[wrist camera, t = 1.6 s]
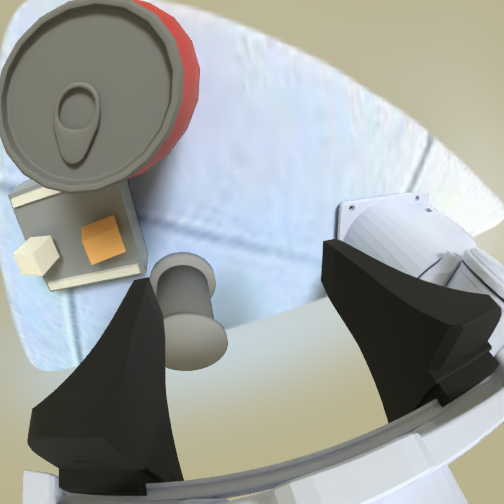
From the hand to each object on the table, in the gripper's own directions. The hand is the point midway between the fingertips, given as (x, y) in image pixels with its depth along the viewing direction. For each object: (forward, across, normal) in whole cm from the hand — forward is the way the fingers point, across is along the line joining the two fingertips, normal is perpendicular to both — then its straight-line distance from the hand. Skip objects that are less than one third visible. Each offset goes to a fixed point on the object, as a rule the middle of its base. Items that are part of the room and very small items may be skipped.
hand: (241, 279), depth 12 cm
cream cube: (+8, +12, 0) cm, 14 cm away
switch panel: (+10, +10, 0) cm, 14 cm away
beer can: (+11, +4, -8) cm, 14 cm away
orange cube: (+8, +8, 0) cm, 11 cm away
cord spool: (+10, +4, +7) cm, 13 cm away
